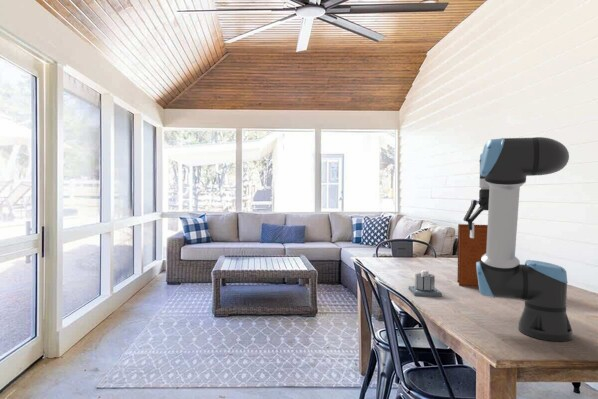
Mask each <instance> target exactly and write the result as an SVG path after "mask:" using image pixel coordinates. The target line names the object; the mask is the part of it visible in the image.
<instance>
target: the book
mask: <svg viewBox="0 0 598 399" xmlns="http://www.w3.org/2000/svg"><path fill="white" fill-rule="evenodd" d="M487 228H488V224H474V238H470V230H468V223H467V224H466V223H465V224H464V223H463V224H462V223H459V224H458V227H457V232H458V233H457V235H458V236H457V278H456V279H457V283H458V286H459V287H460V286H462V287H473V288H474V287H475V288H479V285H478V277H477V269H476V262H479V261H480V262H481V257H482V256H483V255H484V254H486V249H487Z"/></svg>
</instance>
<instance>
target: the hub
mask: <svg viewBox="0 0 598 399" xmlns="http://www.w3.org/2000/svg"><path fill="white" fill-rule="evenodd" d="M414 277H415V278H414V286H415V287H416V288H417V289H420V290H434V287H435V286H436V285H435V281H436V280H435V277H436V276H435V275H434V274H431V273H429V276H421V272H420V273H415V276H414Z"/></svg>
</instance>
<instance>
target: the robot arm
mask: <svg viewBox="0 0 598 399" xmlns="http://www.w3.org/2000/svg"><path fill="white" fill-rule="evenodd" d="M567 148H568V147H566V146H565V145H564V144H563V143H562V142H560V141H558V140H556V139H553V138H549V137H544V136H543V137H542V136H540V137H538V136H537V137H501V138H494V139H489V140H487V141H486V142H485V144H484V146H483V150H482V153H480V155H479V161H478V162H479V185H478V186H479V187H478V188H479V190H478V191H479V192H478V194H479V196H478V197H479V199H477V200H476V199H472V200H470V201H471V203H470V206H469V207H468V210H467V211H466V214H465V216H464V217H463V221H464V222H465V223H467V224H468V230H470V238H474V225H475V223H474V221H475V220H476V219H477V218H478V216H479V215H481V214H482V212H484V211H488V213H487V225H488V228H487V249H486V254H484V255H483V256H482V257H481V262H480V261H479V262H476V269H477V277H478V285H479V287H478V290H479V293H480V294H481V295H482V296H484V297H490V298H493V299H494V298H499V299H510V300H520V301H521V300H522V301H524V307H523V311H521V312H522V313H521V316H520V318H519V320H518V323H517V324H518V326H517V327H518V328H517V329H518V331H519V332H520V333H523V334H524V335H527V336H529V337H531V338H535V339H539V340H544V341H549V342H550V341H551V342H567V341H571V340H572V339H573V328H572V326H571V323H570V320H569V316H568V314H567V296H568V295H567V293H568V292H567V290H568V276H567V275H568V274H567V270H566V269H565V268H564V267H563V266H561V265H557V264H554V263H550V262H546V261H540V260H531V259H526V260H525V262H524V264H521V263H520V262H521V261H520V259H519V258H518V257H517V256H516V246H517V231H518V220H519V219H518V217H519V202H520V192H521V191H520V190H521V187H522V186H523V185H524V184H526V183H527V177H530V176H531V177H533V176H547V175H551V174H555V173H557V172H561V170H563V169H564V168H565V167H566V166H567V164H568V163H569V160H570V153H569V149H567ZM477 205H479V207H478V208H477V209H476V210H475V208H476V206H477ZM474 210H475V212H474Z"/></svg>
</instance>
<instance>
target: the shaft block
mask: <svg viewBox="0 0 598 399" xmlns="http://www.w3.org/2000/svg"><path fill="white" fill-rule="evenodd" d="M420 273H421V276H429V274H430V273H429V270H425V269H423V270H421V272H420ZM408 291H409V292H411V293H412V295H413V296H414V297H443V292H442V291H440V290H439V289H438V288H437V287H435V286H434V290H420V289H417V288H416V287H415V285H408Z"/></svg>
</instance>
